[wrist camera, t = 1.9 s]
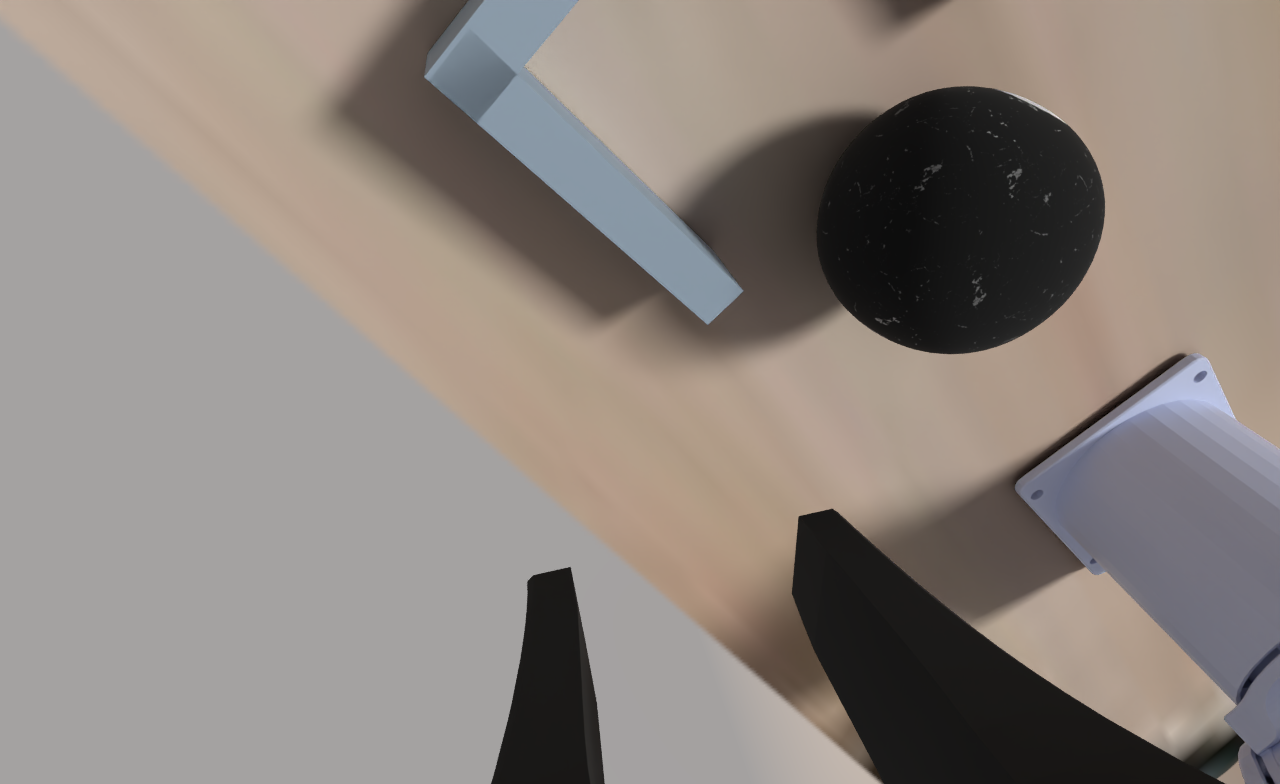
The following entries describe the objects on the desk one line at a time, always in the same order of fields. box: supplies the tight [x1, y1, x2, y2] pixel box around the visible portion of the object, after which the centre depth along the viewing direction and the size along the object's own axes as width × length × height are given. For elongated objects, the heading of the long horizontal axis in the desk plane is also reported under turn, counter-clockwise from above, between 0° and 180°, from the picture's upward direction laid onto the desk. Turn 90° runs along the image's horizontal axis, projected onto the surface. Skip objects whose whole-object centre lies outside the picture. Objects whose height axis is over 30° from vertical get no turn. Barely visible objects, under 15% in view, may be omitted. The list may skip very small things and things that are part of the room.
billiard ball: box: [817, 86, 1105, 354], centre depth 17 cm, size 6×6×6 cm
